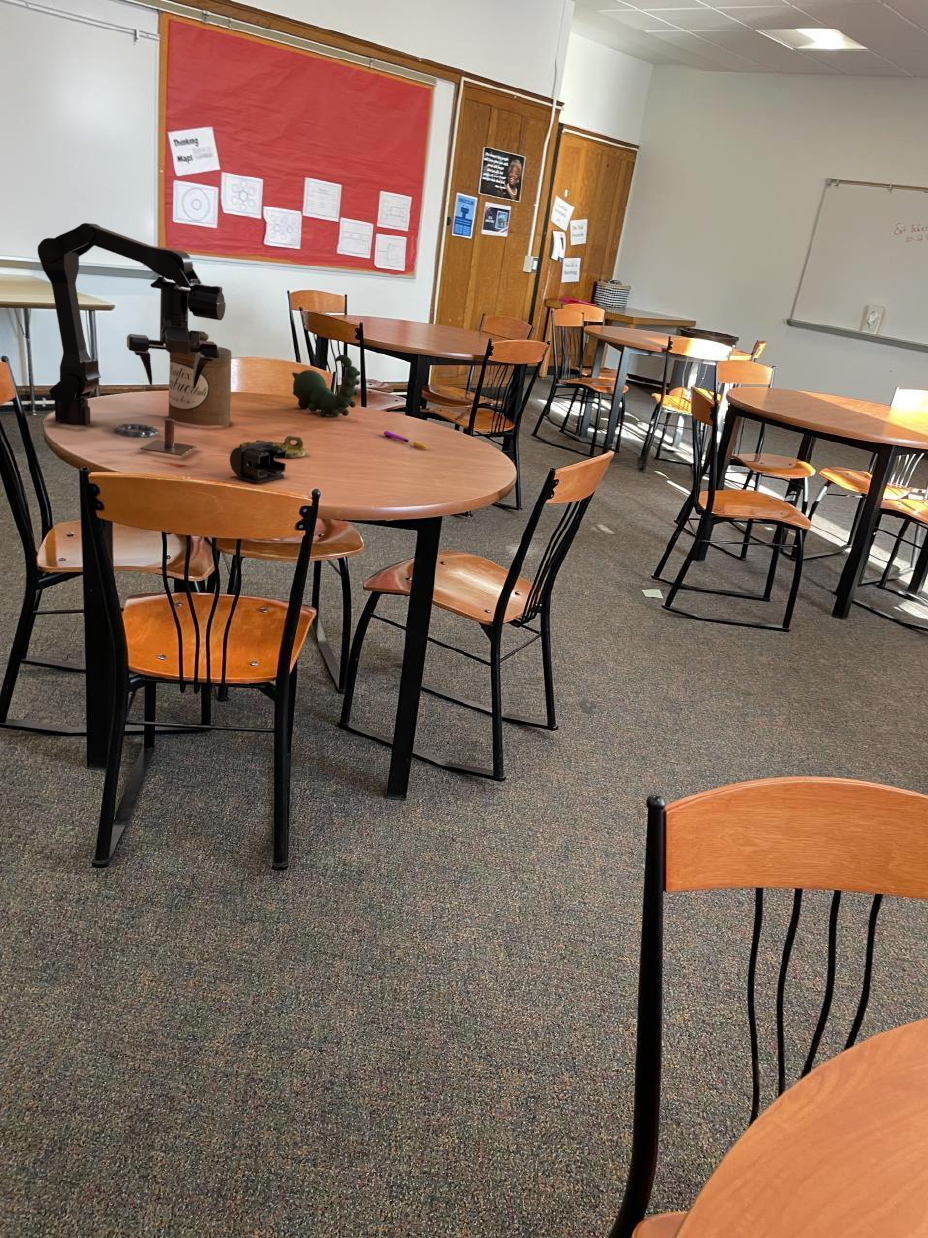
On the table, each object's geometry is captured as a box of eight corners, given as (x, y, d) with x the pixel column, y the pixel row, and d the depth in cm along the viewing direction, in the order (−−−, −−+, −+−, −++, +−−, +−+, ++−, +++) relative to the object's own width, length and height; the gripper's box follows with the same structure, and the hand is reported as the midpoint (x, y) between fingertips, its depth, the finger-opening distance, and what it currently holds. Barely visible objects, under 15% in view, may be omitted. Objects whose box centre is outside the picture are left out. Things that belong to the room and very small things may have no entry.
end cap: (259, 469, 193) (261, 438, 191) (286, 477, 191) (288, 445, 188) (228, 476, 185) (229, 444, 182) (255, 484, 182) (257, 452, 179)
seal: (239, 459, 202) (306, 463, 207) (240, 439, 200) (308, 444, 204) (238, 445, 210) (302, 449, 214) (239, 425, 208) (304, 430, 212)
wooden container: (155, 417, 223) (156, 325, 215) (202, 413, 235) (204, 326, 227) (196, 431, 217) (199, 337, 208) (242, 426, 228) (246, 337, 220)
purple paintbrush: (382, 434, 242) (424, 449, 233) (383, 430, 242) (426, 445, 233) (389, 436, 244) (431, 451, 235) (390, 431, 244) (432, 447, 235)
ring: (106, 437, 199) (106, 428, 199) (124, 429, 208) (124, 420, 208) (148, 444, 199) (148, 435, 199) (165, 435, 208) (165, 427, 207)
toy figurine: (359, 427, 256) (300, 400, 268) (370, 360, 248) (309, 336, 260) (335, 429, 249) (276, 401, 261) (346, 360, 241) (284, 335, 253)
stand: (140, 453, 191) (140, 419, 188) (156, 444, 200) (157, 412, 197) (181, 460, 191) (182, 426, 188) (196, 451, 199) (197, 419, 197)
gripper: (132, 313, 182) (132, 390, 188) (225, 322, 190) (222, 396, 196) (126, 305, 191) (126, 380, 197) (215, 315, 199) (213, 386, 205)
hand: (172, 386), depth 199 cm, fingers open, 9 cm apart
